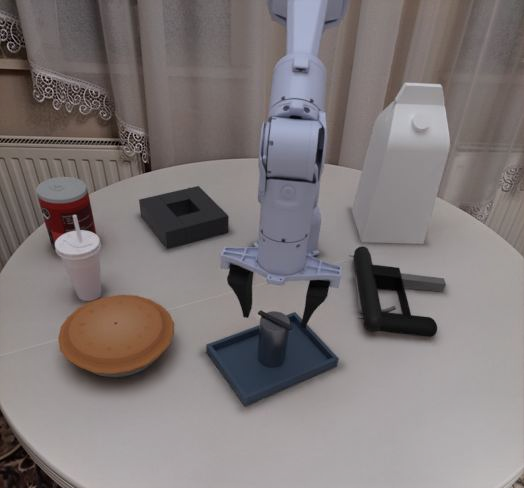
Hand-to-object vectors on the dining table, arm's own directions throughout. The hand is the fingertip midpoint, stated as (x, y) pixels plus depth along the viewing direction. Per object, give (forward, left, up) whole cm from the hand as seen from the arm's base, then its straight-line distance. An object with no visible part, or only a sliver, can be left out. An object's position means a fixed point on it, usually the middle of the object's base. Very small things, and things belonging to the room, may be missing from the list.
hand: (275, 318), depth 67 cm
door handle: (-26, -2, -8) cm, 27 cm away
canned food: (+16, -40, -8) cm, 44 cm away
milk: (-39, -20, -8) cm, 45 cm away
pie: (+18, -12, -8) cm, 23 cm away
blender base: (-4, -38, -8) cm, 39 cm away
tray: (0, 0, -8) cm, 8 cm away
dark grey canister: (0, 0, -8) cm, 8 cm away
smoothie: (+18, -26, -8) cm, 33 cm away
